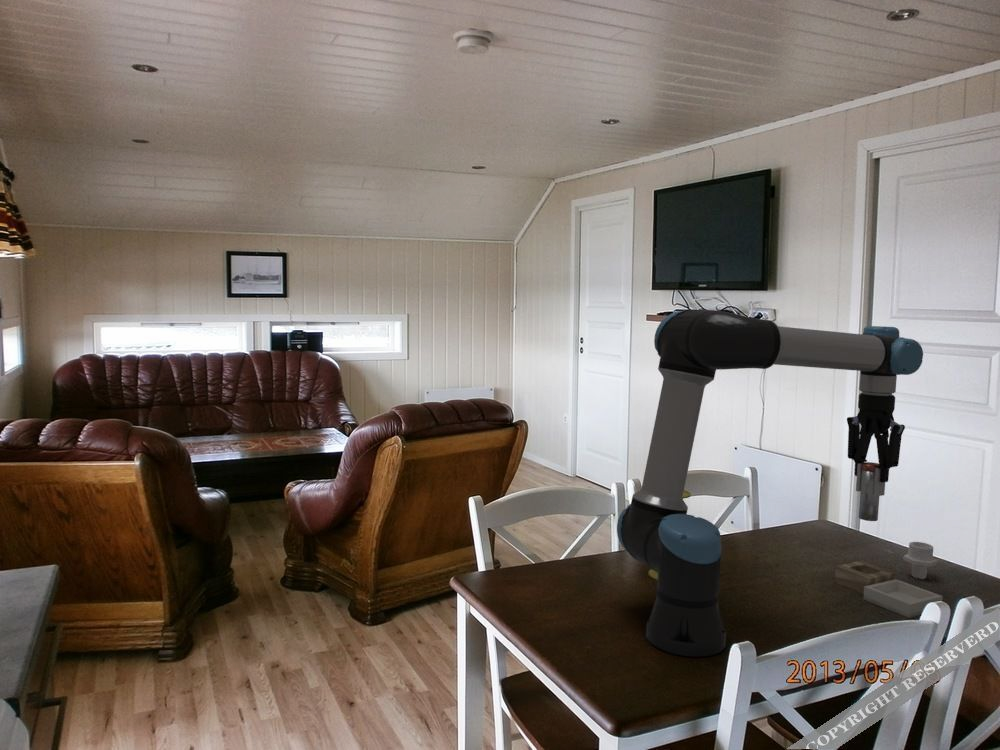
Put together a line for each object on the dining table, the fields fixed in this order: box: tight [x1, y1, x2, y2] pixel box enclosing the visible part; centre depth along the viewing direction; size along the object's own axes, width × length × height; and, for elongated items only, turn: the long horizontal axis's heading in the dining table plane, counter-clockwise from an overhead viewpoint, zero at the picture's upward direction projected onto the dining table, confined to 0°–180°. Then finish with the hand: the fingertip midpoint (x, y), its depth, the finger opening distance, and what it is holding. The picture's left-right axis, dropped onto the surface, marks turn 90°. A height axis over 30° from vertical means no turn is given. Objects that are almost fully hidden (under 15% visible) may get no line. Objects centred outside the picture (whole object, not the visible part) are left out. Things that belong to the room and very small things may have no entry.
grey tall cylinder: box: [858, 461, 880, 522], centre depth 174 cm, size 4×4×13 cm
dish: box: [863, 578, 944, 619], centre depth 165 cm, size 11×11×3 cm
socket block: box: [834, 560, 896, 595], centre depth 176 cm, size 9×9×4 cm
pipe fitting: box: [902, 541, 938, 580], centre depth 182 cm, size 6×7×8 cm
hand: (869, 492), depth 174 cm, fingers closed on grey tall cylinder, 4 cm apart
